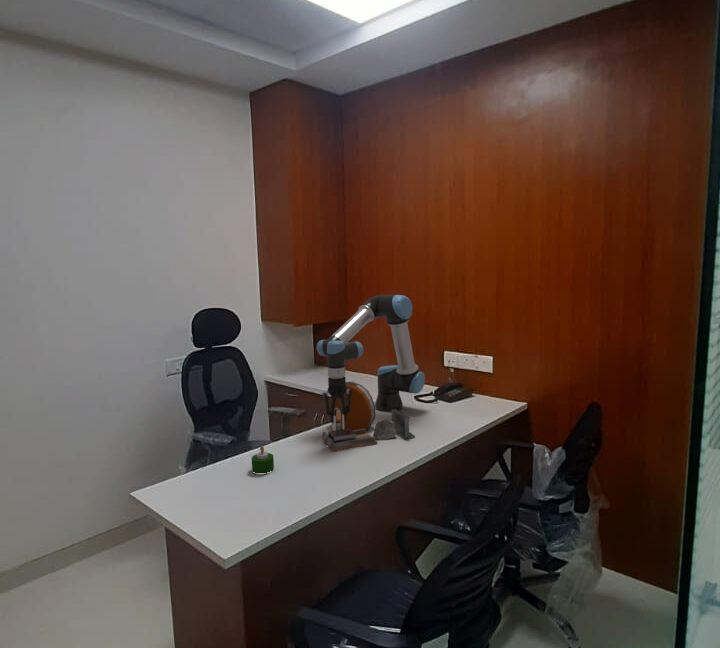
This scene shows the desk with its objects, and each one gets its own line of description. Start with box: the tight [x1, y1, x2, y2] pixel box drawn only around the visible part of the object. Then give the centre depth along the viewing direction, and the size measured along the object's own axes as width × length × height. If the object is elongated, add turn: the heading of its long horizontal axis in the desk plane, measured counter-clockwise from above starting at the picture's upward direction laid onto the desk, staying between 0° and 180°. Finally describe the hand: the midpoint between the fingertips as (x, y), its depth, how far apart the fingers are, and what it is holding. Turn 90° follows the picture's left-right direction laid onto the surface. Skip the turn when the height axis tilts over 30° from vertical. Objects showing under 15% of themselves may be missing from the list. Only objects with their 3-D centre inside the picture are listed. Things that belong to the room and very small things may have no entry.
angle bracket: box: [391, 409, 416, 441], centre depth 224 cm, size 14×5×10 cm, turn 21°
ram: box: [327, 408, 356, 443], centre depth 213 cm, size 8×10×15 cm
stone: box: [372, 416, 397, 441], centre depth 221 cm, size 10×10×10 cm
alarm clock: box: [328, 381, 376, 431], centre depth 235 cm, size 22×10×23 cm, turn 65°
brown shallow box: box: [321, 429, 378, 452], centre depth 215 cm, size 14×21×4 cm, turn 111°
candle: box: [251, 445, 275, 473], centre depth 188 cm, size 8×8×10 cm
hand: (338, 428), depth 213 cm, fingers closed on ram, 3 cm apart
